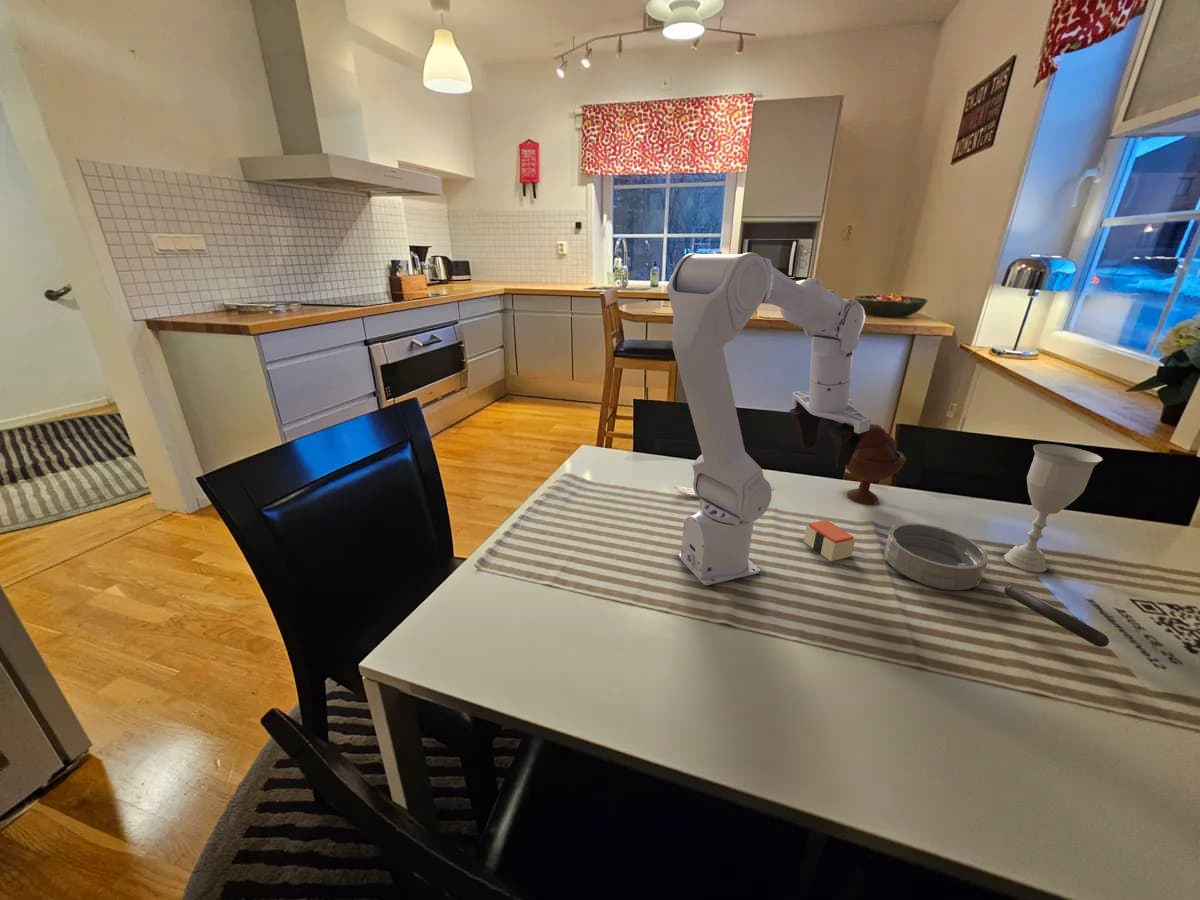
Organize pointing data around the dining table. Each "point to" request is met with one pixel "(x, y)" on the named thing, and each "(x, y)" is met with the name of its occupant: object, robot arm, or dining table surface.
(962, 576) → the pan
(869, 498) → the ice cream bowl
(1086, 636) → the pan handle
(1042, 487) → the chalice
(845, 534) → the sushi
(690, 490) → the cooking utensil
